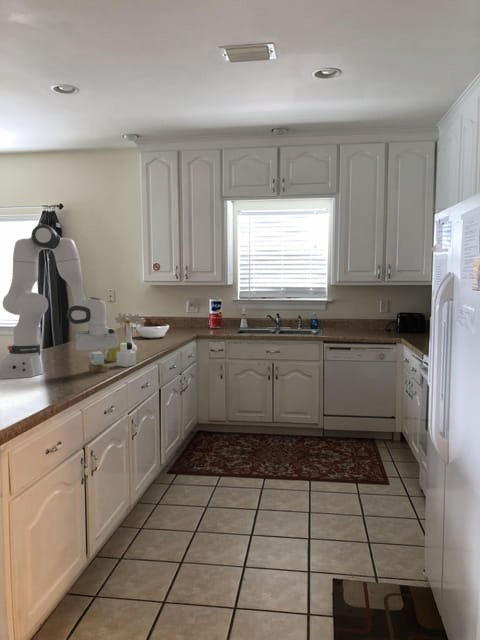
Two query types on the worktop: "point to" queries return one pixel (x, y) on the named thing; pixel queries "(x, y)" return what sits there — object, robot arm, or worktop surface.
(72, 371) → the worktop surface
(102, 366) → the block
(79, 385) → the worktop surface
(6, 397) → the worktop surface
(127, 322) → the flower vase
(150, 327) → the white bowl
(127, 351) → the medicine bottle
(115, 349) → the plant pot
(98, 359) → the cube
